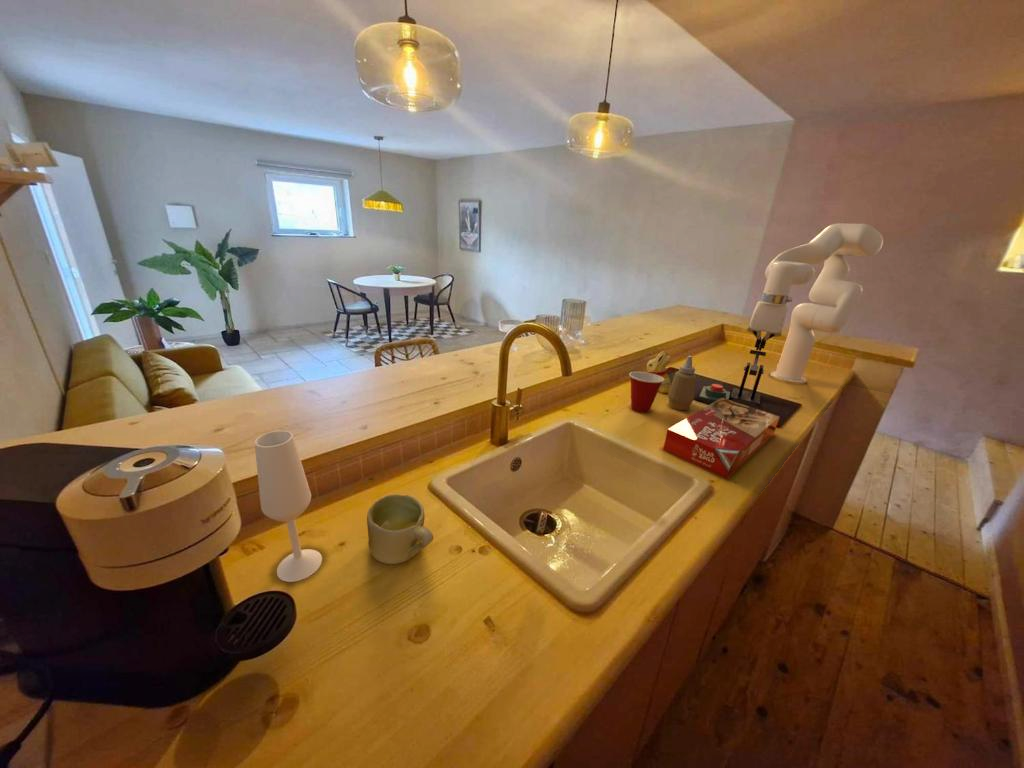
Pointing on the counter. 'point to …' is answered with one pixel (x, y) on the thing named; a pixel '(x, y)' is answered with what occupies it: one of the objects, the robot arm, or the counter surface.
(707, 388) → the button housing
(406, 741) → the counter surface
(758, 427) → the food box
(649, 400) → the plastic cup
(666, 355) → the chocolate bunny
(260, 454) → the champagne flute
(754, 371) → the lever
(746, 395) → the bracket
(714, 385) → the button
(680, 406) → the squeeze bottle
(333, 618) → the counter surface
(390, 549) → the mug
